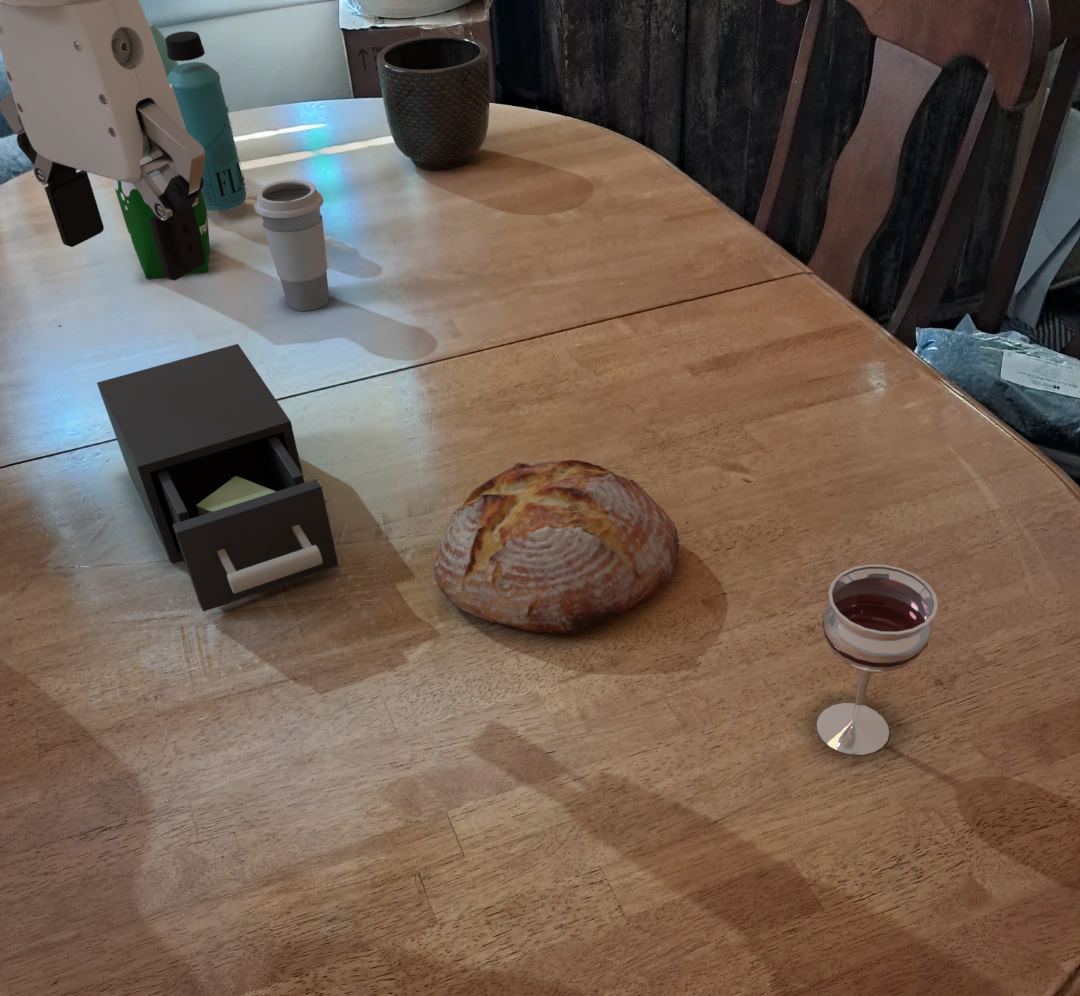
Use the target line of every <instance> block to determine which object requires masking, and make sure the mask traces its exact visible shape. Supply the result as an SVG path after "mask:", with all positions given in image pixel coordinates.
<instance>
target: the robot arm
mask: <svg viewBox="0 0 1080 996" xmlns="http://www.w3.org/2000/svg"><path fill="white" fill-rule="evenodd" d="M148 23H149V21H148V18H147V16H146V14H145V12H144V8H143V6H142V5H141V2H140V0H0V54H1V59H2V62H3V66H4V69H5V73H6V77H7V80H8V83H9V87H10V92H8V94H6V95H5V96H4V97H3V98H1V99H0V112H1V114H2V116H3V117H4V119H5V121H6V122H7V124H8V125H9V127H10V128H11V130H12V132H13V133H14V135H17V136H16V142H17V146H18V148H19V149H20V150H21V151H22V153H23V154H24V155H25V156H26V157H27V158H28V160H29V161H30V162H31V164H32V165H33V174H34V177H35V179H36V180H37V181H38V183H39V184H41V185H43V186H44V187H43V188H44V191H45V194H46V197H47V199H48V203H49V206H50V208H51V209H50V210H51V211H52V215H53V218H54V220H55V224H56V227H57V230H58V233H59V235H60V239H61V241H62V243H63V245H65V246H66V247H69V248H74V247H76V246H78V245H80V244H82V243H84V242H86V241H88V240H90V239H91V238H93V237H96V236H97V235H100V234H101V233H102V232H104V230H105V226H104V223H103V219H102V216H101V213H100V210H99V207H98V203H97V200H96V196H95V194H94V190H93V186H92V183H91V180H90V177H89V173H90V174H92V175H96V176H100V177H104V178H106V179H110V180H112V179H114V180H118V181H122V182H126V183H133V184H134V186H135V187H136V189H137V190H138V191H139V193H140V194H141V195H142V197H143V198H144V199H145V201H146V202H147V204H148V205H149V206H150V208H151V209H152V210H153V212H154V213H155V214H156V216H155V217H153V218H151V219H149V220H150V225H151V228H152V232H153V236H154V239H155V243H156V247H157V250H158V254H159V258H160V261H161V265H162V268H163V272H164V275H165V277H164V278H166V279H168V280H171V281H177V280H179V279H180V278H182V277H184V276H186V275H189V274H188V273H190V272H191V271H193V270H195V269H197V268H199V267H200V266H202V265H203V264H204V263H205V254H204V250H203V246H202V242H201V238H200V234H199V230H198V226H197V221H196V217H195V213H194V209H193V206H195V205H196V204H197V203H198V195H199V193H200V191H201V190H202V188H203V185H204V182H203V178H202V176H203V171H204V164H205V157H206V153H205V150H204V148H203V146H202V145H201V144H200V143H199V142H198V141H197V140H195V139H194V138H193V137H192V136H191V135H190V134H188V133H187V132H186V131H185V130H184V129H183V128H182V127H181V124H180V120H179V116H178V112H177V109H176V105H175V102H174V98H173V95H172V91H171V88H170V85H169V82H168V78H167V75H166V72H165V69H164V66H163V63H162V60H161V56H160V53H159V50H158V48H157V45H156V42H155V39H154V37H153V34H152V31H151V28H150V26H149V24H148ZM146 156H147V157H151V158H152V159H153V160H151V161H149V162H147V163H145V164H143V165H141V166H140V161H139V159H142V158H144V157H146ZM78 170H79V171H78ZM77 171H78V172H77ZM159 174H161V175H162V176H163V177H164V179H165V180H166V182H167V183H168V185H167V187H166V189H165V191H164V193H163V194H162V192H161V191H160V190H159V188H158V187H157V185H156V184H155V183H154V181H153V180H152V179H151V178H153V177H155V176H157V175H159Z"/></svg>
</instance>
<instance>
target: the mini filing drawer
mask: <svg viewBox="0 0 1080 996" xmlns="http://www.w3.org/2000/svg"><path fill="white" fill-rule="evenodd" d="M152 473H153V476H154V479H155V482H156V485H157V488H158V491H159V494H160V496H161V499H162V502H163V505H164V508H165V511H166V514H167V517H168V519H169V521H170V523H171V525H172V527H173V529H174V531H175V534H176V537H177V540H178V543H179V546H180V549H181V551H182V554H183V557H184V559H183V560H184V564H185V566H186V569H187V572H188V575H189V578H190V580H191V584H192V586H193V589H194V592H195V595H196V598H197V602H198V604H199V606H200V608H201V610H202V612H203V613H205V612H207V611H209V610H213V609H215V608H218V607H221V606H225V605H228V604H230V603H234V602H237V601H240V600H243V599H246V598H248V597H251V596H254V595H256V594H260V593H263V592H266V591H269V590H272V589H275V588H277V587H281V586H283V585H287V584H289V583H292V582H295V581H298V580H301V579H304V578H306V577H310V576H313V575H315V574H318V573H321V572H323V571H328V570H330V569H333V568H336V567H338V566H339V559H338V557H337V552H336V547H335V541H334V537H333V534H332V528H331V524H330V519H329V515H328V510H327V506H326V505H327V504H326V501H325V496H324V491H323V486H322V485H321V484H320V482H319V480H318V479H316V478H315V479H312V480H309V481H305V478H304V479H303V477H304V474H303V475H302V474H301V472H300V470H299V469H298V467H297V466H296V464H295V463H294V461H293V460H292V458H291V457H290V455H289V454H288V452H287V451H286V449H285V447H284V446H283V444H282V443H281V441H280V440H279V438H278V437H277V435H272V436H269V437H266V438H262V439H259V440H256V441H252V442H249V443H246V444H242V445H239V446H236V447H233V448H229V449H226V450H223V451H219V452H216V453H213V454H209V455H206V456H203V457H199V458H196V459H193V460H189V461H186V462H183V463H179V464H176V465H173V466H170V467H166V468H163V469H160V470H156V471H153V472H152ZM235 476H238V477H240V478H243V479H245V480H248V481H251V482H253V483H256V484H258V485H261V486H263V487H266V488H268V489H271V490H274V491H276V492H274V493H271V494H267V495H264V496H261V497H258V498H255V499H252V500H248V501H245V502H242V503H239V504H236V505H233V506H229V507H226V508H223V509H220V510H217V511H214V512H210V513H207V514H204V515H201V516H199V513H198V509H197V506H196V505H197V504H198V503H200V502H201V501H202V500H204V499H205V498H207V497H208V496H209V495H211V494H212V493H213V492H215V491H216V490H217V489H219V488H220V487H221V486H223V485H224V484H225V483H227V482H228V481H230V480H231V479H232V478H234V477H235ZM304 482H305V483H304Z"/></svg>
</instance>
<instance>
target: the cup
mask: <svg viewBox="0 0 1080 996" xmlns="http://www.w3.org/2000/svg"><path fill="white" fill-rule="evenodd" d="M323 204H324V198H323V196H322V193H321V192H319V190H317V188H316V185H315V184H314V183H313V182H311V181H308V180H303V179H284V180H283V179H282V180H278V181H273V182H271V183H268V184H266V185H264V186H262V187H261V188H260V189H259V190H258V192H257V199H256V200H255V202H254V211H255V212H256V213H257V214H258V215H260V216H261V220H262V227H263V231H264V235H265V237H266V240H267V244H268V247H269V252H270V254H271V257H272V261H273V264H274V267H275V271H276V274H277V277H278V278H279V280H280V283H281V288H282V290H283V294H284V297H285V300H286V304H287V306H288V308H290V309H291V310H294V311H299V312H311V311H315V310H319V309H321V308H323V307H324V306H326V305H327V304H328V303H329V302H330V293H329V283H328V273H327V271H328V262H327V250H326V242H325V232H324V222H323V216H322V214H321V207H322V206H323Z"/></svg>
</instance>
